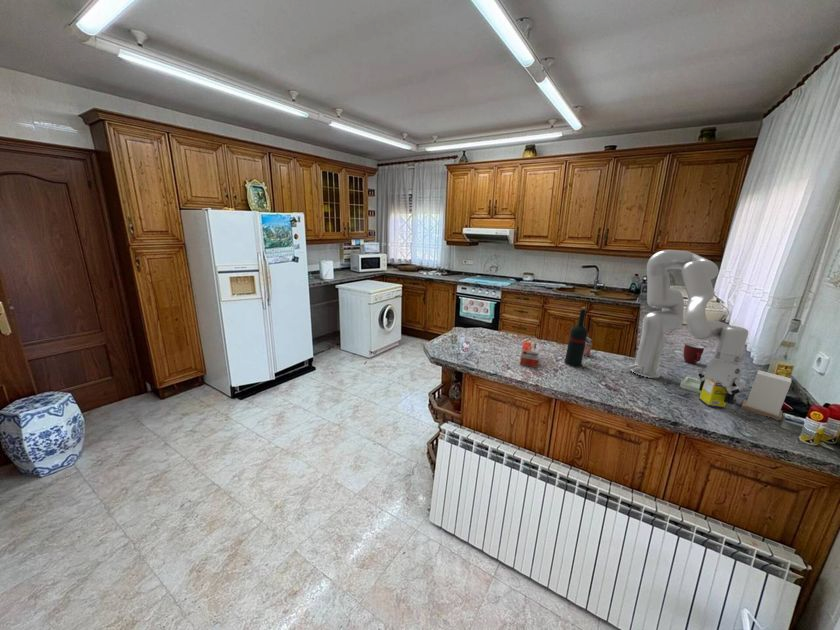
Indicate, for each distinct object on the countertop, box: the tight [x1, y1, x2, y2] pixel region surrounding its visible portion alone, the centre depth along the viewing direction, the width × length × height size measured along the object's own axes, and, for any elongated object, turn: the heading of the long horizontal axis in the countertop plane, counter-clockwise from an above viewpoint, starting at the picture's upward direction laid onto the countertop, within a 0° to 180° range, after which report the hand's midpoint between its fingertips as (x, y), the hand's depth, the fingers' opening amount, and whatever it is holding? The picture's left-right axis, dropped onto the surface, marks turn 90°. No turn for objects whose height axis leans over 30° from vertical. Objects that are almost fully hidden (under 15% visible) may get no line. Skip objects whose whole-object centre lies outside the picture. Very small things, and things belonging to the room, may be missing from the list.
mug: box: [683, 342, 705, 365], centre depth 175 cm, size 10×8×10 cm
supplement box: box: [698, 378, 728, 410], centre depth 131 cm, size 6×6×11 cm
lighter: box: [583, 337, 593, 357], centre depth 179 cm, size 8×3×10 cm, turn 5°
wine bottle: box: [564, 306, 588, 368], centre depth 164 cm, size 8×10×30 cm
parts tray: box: [679, 376, 701, 395], centre depth 146 cm, size 12×12×2 cm
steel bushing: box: [728, 393, 739, 405], centre depth 136 cm, size 5×5×4 cm
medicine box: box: [519, 340, 540, 368], centre depth 166 cm, size 15×8×8 cm, turn 161°
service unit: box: [740, 369, 792, 421], centre depth 127 cm, size 8×11×16 cm
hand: (714, 396), depth 131 cm, fingers open, 9 cm apart
